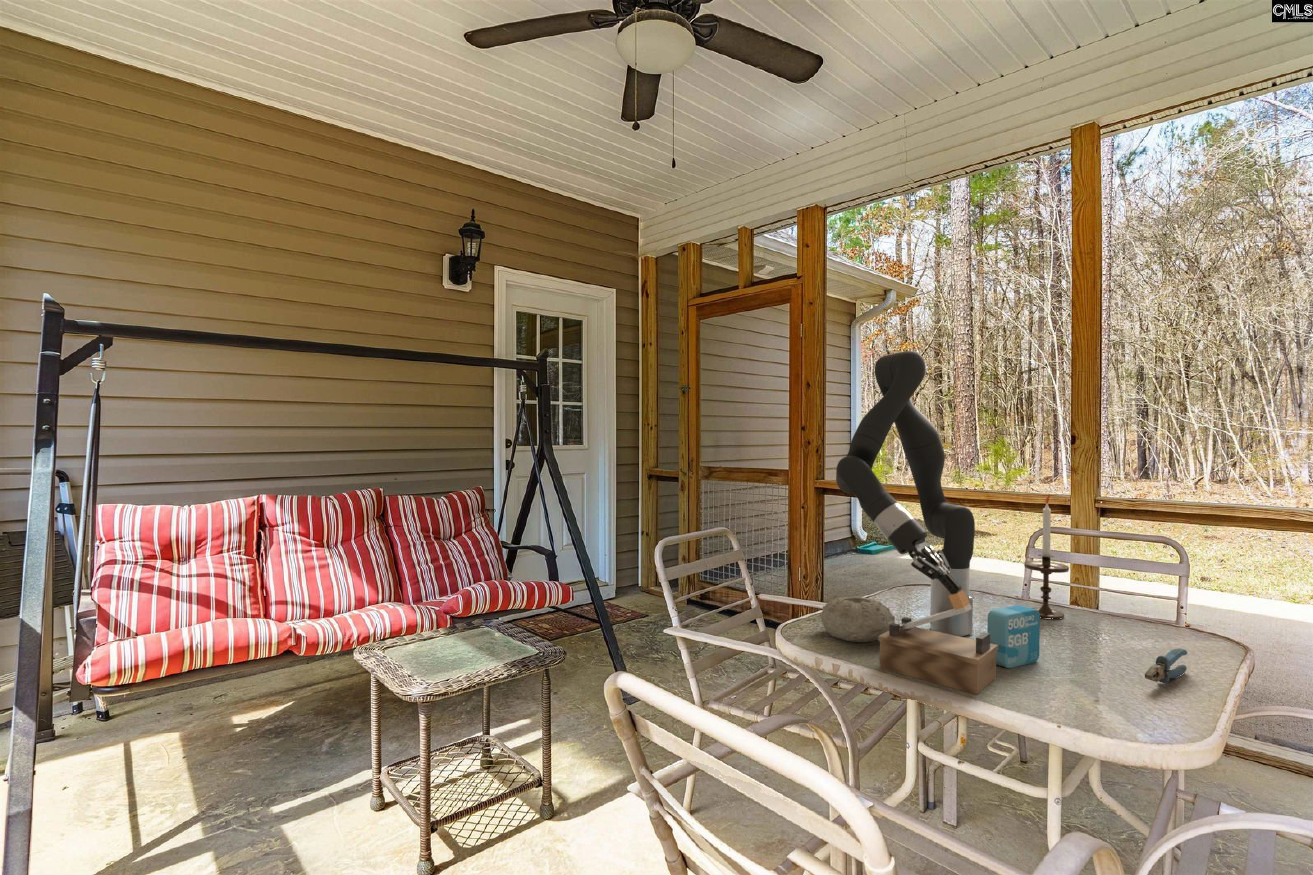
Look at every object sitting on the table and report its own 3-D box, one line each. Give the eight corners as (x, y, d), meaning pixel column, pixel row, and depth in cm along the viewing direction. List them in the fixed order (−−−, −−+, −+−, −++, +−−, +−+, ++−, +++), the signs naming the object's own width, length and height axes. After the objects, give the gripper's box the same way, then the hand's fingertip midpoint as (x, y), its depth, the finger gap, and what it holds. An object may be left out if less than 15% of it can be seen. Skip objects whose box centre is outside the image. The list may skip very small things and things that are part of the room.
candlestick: (1077, 619, 176) (1079, 494, 176) (1044, 621, 174) (1046, 495, 174) (1046, 609, 187) (1047, 491, 187) (1014, 610, 185) (1016, 491, 184)
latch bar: (895, 633, 141) (887, 615, 142) (902, 629, 143) (894, 611, 145) (966, 613, 130) (956, 593, 131) (972, 609, 133) (963, 590, 134)
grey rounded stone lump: (821, 624, 171) (822, 587, 170) (891, 630, 166) (892, 592, 166) (819, 645, 153) (820, 604, 153) (897, 653, 148) (898, 610, 148)
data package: (1005, 669, 138) (1005, 615, 138) (986, 663, 143) (987, 610, 142) (1039, 661, 144) (1040, 608, 144) (1020, 655, 148) (1021, 604, 148)
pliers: (1153, 695, 126) (1153, 665, 126) (1140, 691, 127) (1141, 662, 127) (1189, 674, 137) (1190, 647, 137) (1177, 671, 139) (1178, 644, 138)
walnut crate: (877, 667, 139) (878, 621, 139) (901, 653, 148) (902, 610, 148) (978, 695, 125) (978, 643, 125) (997, 677, 134) (998, 629, 134)
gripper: (899, 520, 135) (959, 586, 127) (923, 514, 145) (981, 576, 136) (875, 542, 139) (932, 607, 130) (900, 535, 148) (955, 596, 140)
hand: (957, 591), depth 133 cm, fingers closed
